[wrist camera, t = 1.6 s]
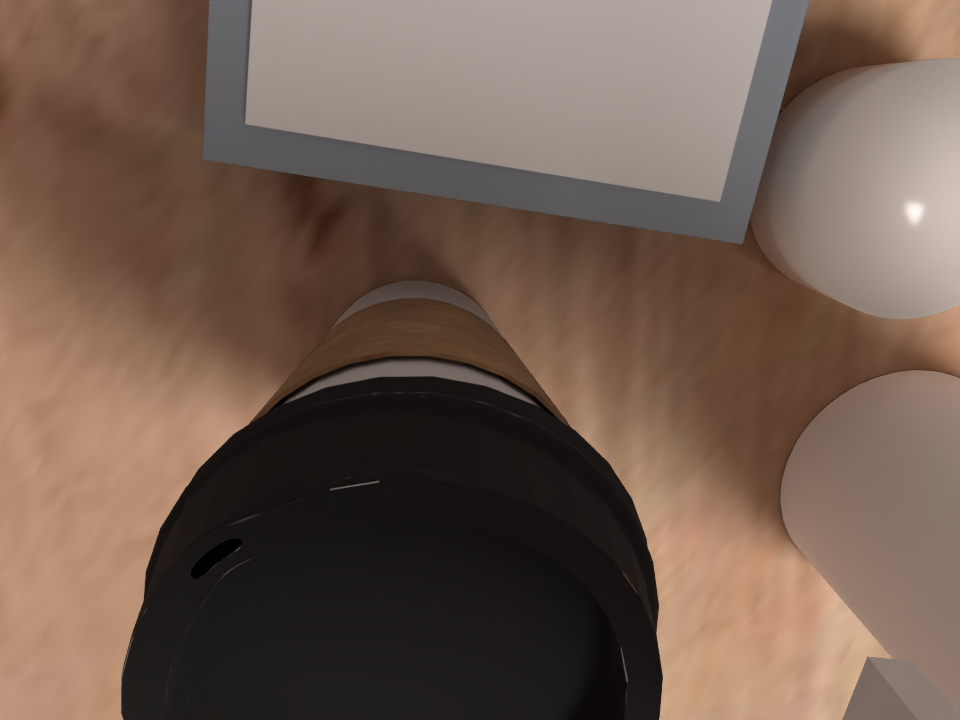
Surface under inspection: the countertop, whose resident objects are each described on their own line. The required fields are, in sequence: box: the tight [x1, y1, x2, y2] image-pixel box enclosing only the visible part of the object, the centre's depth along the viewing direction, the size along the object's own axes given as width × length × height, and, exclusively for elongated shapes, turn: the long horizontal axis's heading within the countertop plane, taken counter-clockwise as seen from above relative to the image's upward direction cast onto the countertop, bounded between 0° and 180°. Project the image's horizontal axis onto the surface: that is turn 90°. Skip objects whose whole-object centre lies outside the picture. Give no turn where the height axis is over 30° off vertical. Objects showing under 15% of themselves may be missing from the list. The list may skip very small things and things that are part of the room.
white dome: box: [750, 58, 960, 320], centre depth 22 cm, size 7×7×4 cm
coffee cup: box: [121, 280, 663, 720], centre depth 17 cm, size 8×8×15 cm
